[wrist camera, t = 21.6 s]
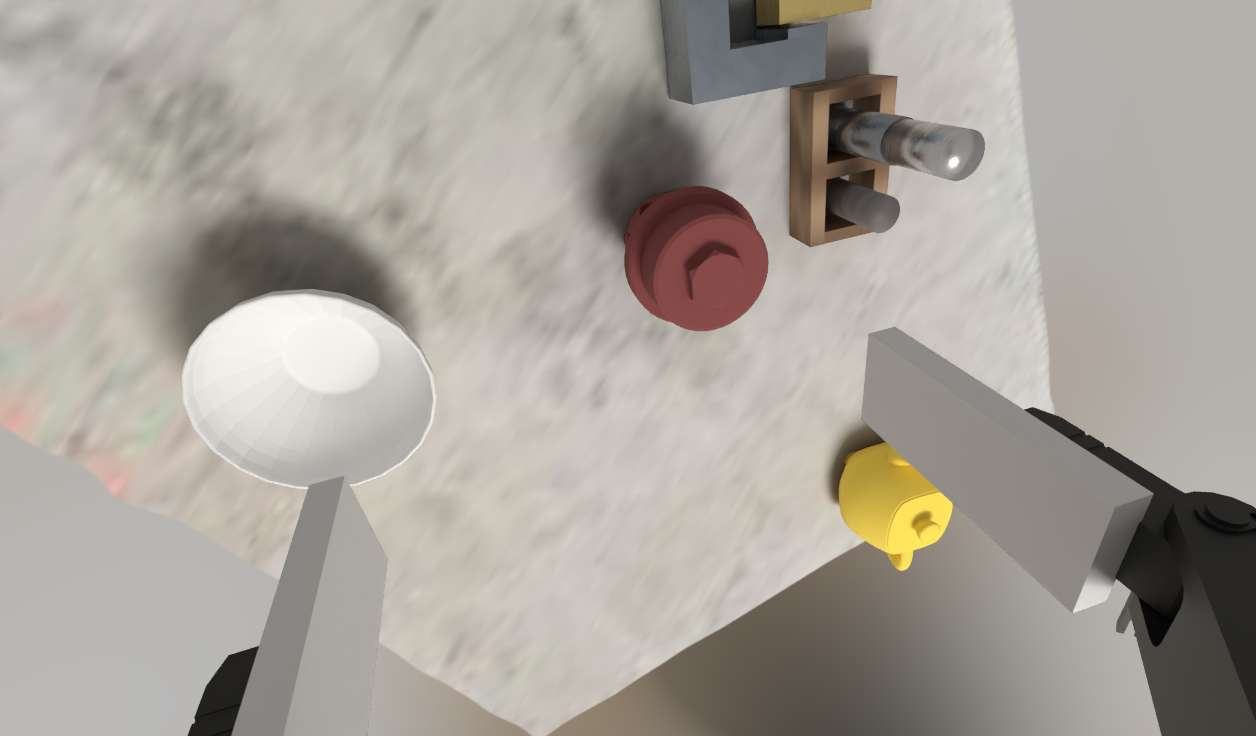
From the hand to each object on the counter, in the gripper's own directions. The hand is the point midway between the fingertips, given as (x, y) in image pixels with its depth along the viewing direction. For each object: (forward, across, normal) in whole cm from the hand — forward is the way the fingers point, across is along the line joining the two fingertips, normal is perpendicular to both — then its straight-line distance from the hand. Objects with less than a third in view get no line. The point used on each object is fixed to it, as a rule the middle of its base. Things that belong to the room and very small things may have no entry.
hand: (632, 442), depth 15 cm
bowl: (+35, -17, -11) cm, 40 cm away
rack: (+35, +26, -4) cm, 44 cm away
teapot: (+35, +34, -41) cm, 64 cm away
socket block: (+35, +18, +8) cm, 40 cm away
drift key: (+34, +24, +8) cm, 42 cm away
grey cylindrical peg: (+35, +26, -1) cm, 44 cm away
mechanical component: (+35, +11, -7) cm, 37 cm away
